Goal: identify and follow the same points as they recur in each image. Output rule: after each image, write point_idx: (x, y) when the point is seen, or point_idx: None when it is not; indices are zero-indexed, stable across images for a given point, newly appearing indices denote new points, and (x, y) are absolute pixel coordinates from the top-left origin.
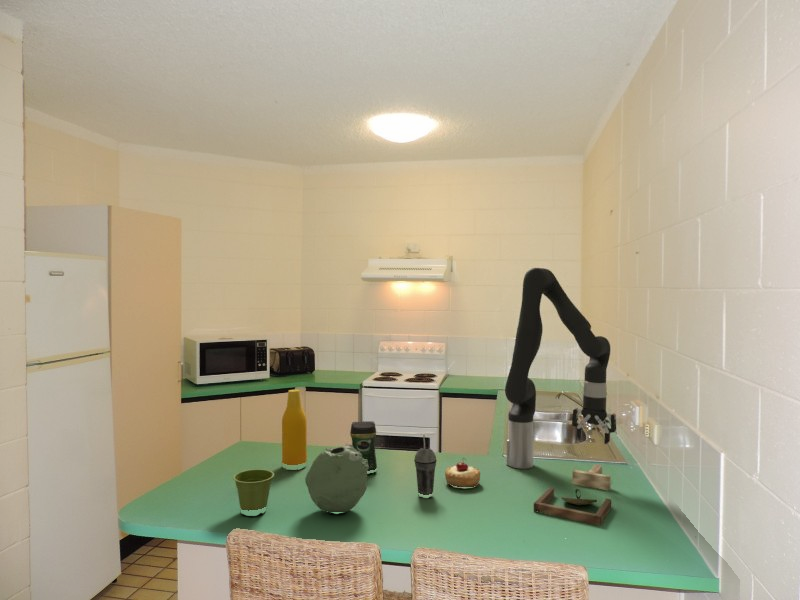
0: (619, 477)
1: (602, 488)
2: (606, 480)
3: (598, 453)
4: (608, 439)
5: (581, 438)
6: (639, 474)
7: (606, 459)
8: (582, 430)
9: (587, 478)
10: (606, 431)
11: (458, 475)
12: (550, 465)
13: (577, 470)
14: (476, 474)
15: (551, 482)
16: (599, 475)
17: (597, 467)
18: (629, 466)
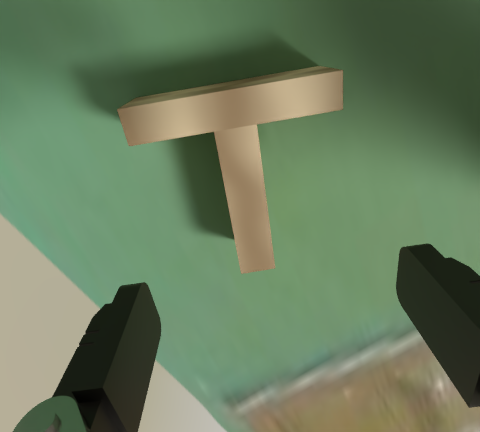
0: (185, 282)
1: (167, 92)
2: (138, 102)
3: (335, 427)
4: (92, 334)
5: (402, 274)
6: None
7: (296, 401)
8: (448, 371)
9: (245, 83)
10: (50, 423)
11: None
12: (468, 240)
13: (320, 108)
14: None
15: (425, 4)
16: (178, 106)
17: (246, 231)
18: (209, 389)
